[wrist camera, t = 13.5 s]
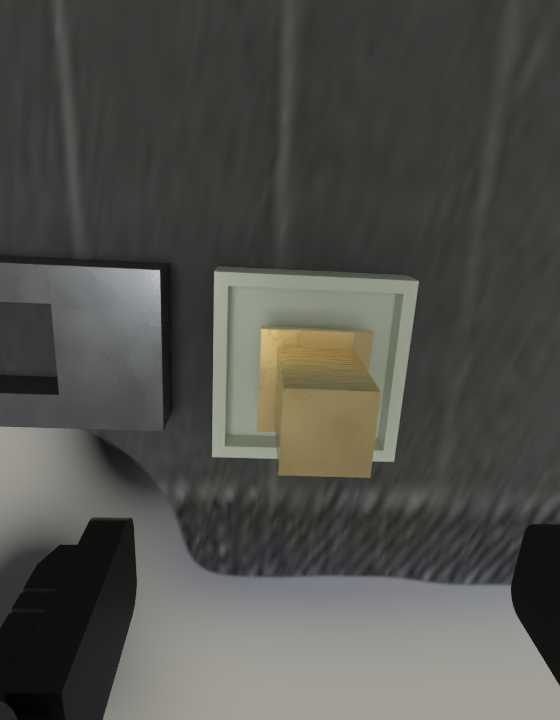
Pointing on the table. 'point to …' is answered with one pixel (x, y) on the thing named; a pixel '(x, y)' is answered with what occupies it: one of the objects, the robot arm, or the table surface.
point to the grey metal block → (94, 344)
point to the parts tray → (303, 310)
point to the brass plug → (318, 400)
